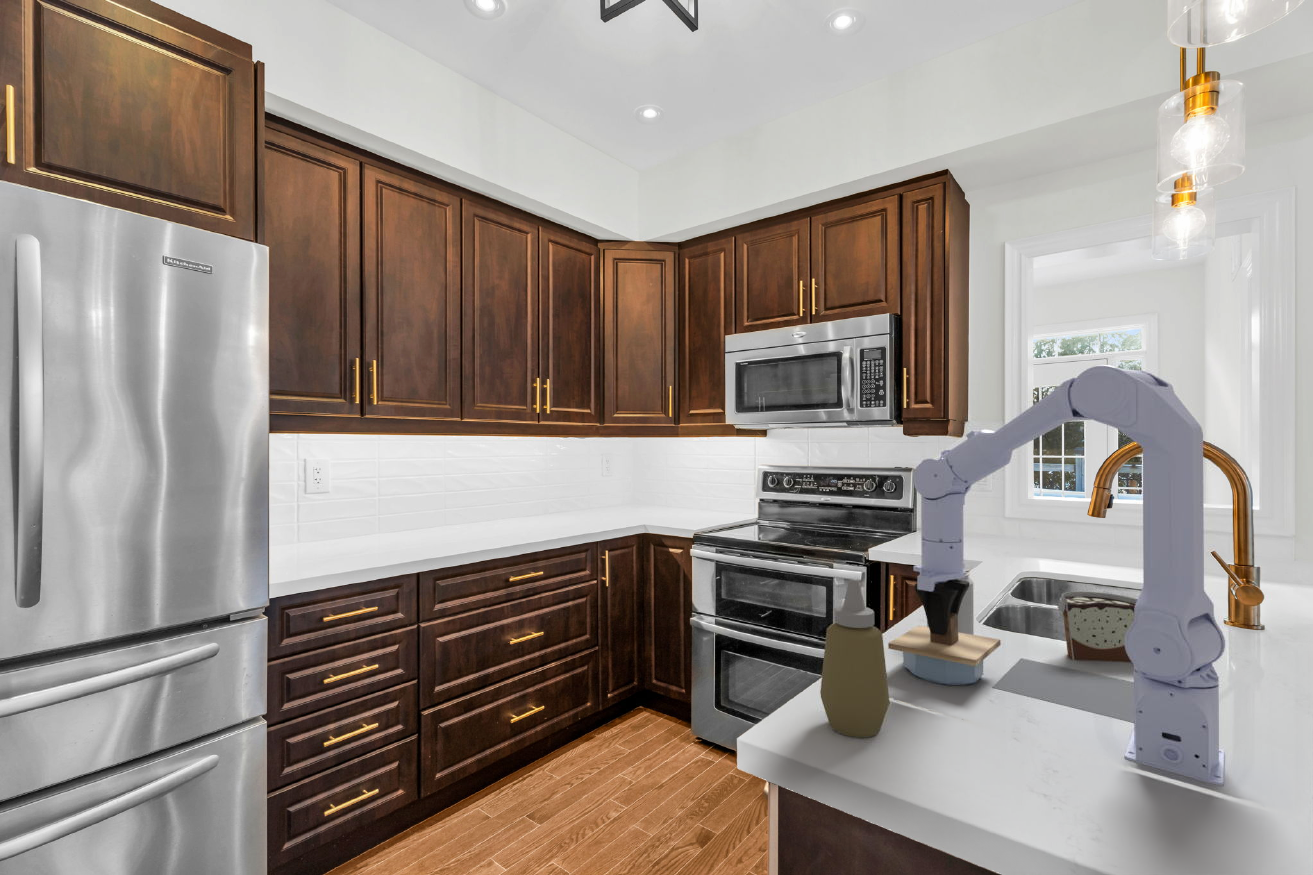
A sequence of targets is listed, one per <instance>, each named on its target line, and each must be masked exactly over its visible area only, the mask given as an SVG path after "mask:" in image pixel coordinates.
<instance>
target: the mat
mask: <svg viewBox="0 0 1313 875" xmlns="http://www.w3.org/2000/svg"><path fill="white" fill-rule="evenodd" d="M991 688H992V689H995V690H1001V691H1004V692H1009V693H1012V694H1017V695H1019V696H1025V697H1029V698H1031V699H1036V700H1039V701H1040V700H1041V701H1044V702H1048V703H1053V704H1057V705H1060V706H1065V707H1069V708H1074V709H1077V710H1081V711H1085V712H1089V713H1092V714H1097V715H1101V716H1105V717H1108V718H1109V717H1110V718H1113V719H1117V720H1120V721H1125V722H1128V723H1133V724H1134V681H1131V680H1125V679H1120V678H1117V677H1116V678H1115V677H1112V676H1111V677H1110V676H1106V675H1102V674H1097V673H1093V672H1087V671H1083V670H1079V669H1074V668H1068V667H1064V666H1059V665H1056V664H1051V663H1046V662H1040V661H1035V660H1031V659H1027V658H1020V659H1018V661H1017V662H1015V664H1014V665H1012V667H1010V669H1008V671H1007V672H1006V673H1005V674H1004V675H1003V676H1002V677H1001V678H1000V679H999V680H998V681H997V682H995V684H994V685H993V686H992V687H991Z"/></svg>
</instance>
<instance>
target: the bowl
mask: <svg viewBox="0 0 1313 875" xmlns="http://www.w3.org/2000/svg"><path fill="white" fill-rule="evenodd" d="M902 652H903V651H902ZM902 656H903V658H902V661H903V662H902V663H903V664H902V665H903V667H904V668H906V669H908V670H909V672H910V673H912V675H914V676H916V677H917V678H920V679H922V680H925V681H928V682H932V683H935V684H942V685H949V686H964V685H965V686H966V685H970V684H971V685H972V684H974V683H977V681H978V680H979V679H980V678H981V677H982V676H983V675H984V660H983V661H981V662H980V663H979V664H978V665H977V666H972V665H967V664H962V663H957V662H952V661H947V660H943V659H938V658H933V657H928V656H923V655H918V654H913V653H908V652H903V653H902Z"/></svg>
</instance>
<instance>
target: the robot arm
mask: <svg viewBox="0 0 1313 875" xmlns="http://www.w3.org/2000/svg"><path fill="white" fill-rule="evenodd" d="M1091 420H1092V421H1096V422H1098V423H1100V424H1104V425H1107V426H1110V427H1112V428H1115V429H1117V430H1118V432H1121V434H1124V435H1125V436H1126V437H1128V438H1130V439H1131V440H1132V441H1133V442H1135V443H1136V444H1138V445H1139V446H1140V448H1142V513H1143V514H1142V519H1143V520H1142V541H1143V542H1142V545H1143V547H1142V548H1143V550H1142V553H1143V554H1142V555H1143V560H1142V561H1143V562H1142V563H1143V566H1142V568H1143V570H1142V571H1143V574H1142V575H1143V577H1142V578H1143V584H1142V585H1143V586H1142V589H1141V591H1140V594H1139V596H1138V598H1137V599H1138V600H1137V602H1136V604H1135V607H1134V621H1133V623H1132V625H1131V626H1130V628H1129V629H1128V631H1127V632H1126V635H1125V639H1124V645H1125V650H1126V652H1127V655H1128V656H1129V658H1130V660H1131V661H1132V662H1131V663H1132V664H1133V682H1134V723H1133V727H1134V728H1133V730H1132V731H1131V732H1132V733H1131V735H1130V737H1129V741H1128V744H1127V747H1126V749H1125V753H1124V756H1123V758H1124V759H1125V760H1128V761H1131V762H1134V763H1139V764H1142V765H1146V766H1149V767H1152V768H1154V769H1155V768H1156V769H1159V770H1163V771H1166V772H1170V773H1174V774H1177V775H1181V776H1185V777H1188V778H1191V779H1195V780H1199V781H1200V782H1201V781H1202V782H1205V783H1209V784H1213V785H1216V786H1221V787H1222V786H1224V783H1225V782H1224V780H1225V778H1224V777H1225V756H1226V755H1225V750H1224V749H1221V748H1220V704H1219V703H1220V695H1219V694H1220V692H1219V690H1220V689H1219V688H1220V686H1219V685H1220V684H1219V683H1220V680H1219V679H1220V677H1219V676H1218V674H1217V671H1216V670H1215V667H1214V666H1213V663H1215V662H1217V661H1218V660H1220V659H1221V658H1222V656H1223V655H1224V652H1225V648H1226V639H1225V636H1224V634H1223V631H1222V629H1221V628H1220V626H1219V624H1218V623H1217V621H1216V619H1215V618H1216V617H1215V612H1214V611H1215V610H1214V608H1215V607H1214V603H1213V601H1212V599H1211V598H1210V597H1209V596H1208V594H1207V592H1206V591H1205V562H1204V561H1205V559H1204V558H1205V557H1204V556H1205V555H1204V553H1205V546H1204V543H1205V542H1204V541H1205V538H1204V537H1205V536H1204V535H1205V534H1204V532H1205V531H1204V529H1205V528H1204V527H1205V526H1204V521H1205V520H1204V517H1205V516H1204V433H1203V429H1202V427H1201V425H1200V423H1199V422H1198V421H1197V420H1196V418H1195V417H1194V415H1193V414H1192V413H1191V412H1190V410H1188V408H1187V407H1186V405H1184V403H1183V401H1181V399H1180V398H1179V397H1178V396H1177V394H1176V393H1175V390H1174V387H1173V385H1172V384H1171V383H1169V382H1167V381H1166V380H1164V379H1162V378H1160V377H1158V376H1156V375H1155V374H1152V373H1150V372H1148V371H1145V370H1142V369H1141V370H1140V369H1127V368H1119V367H1115V366H1113V365H1108V364H1106V365H1102V364H1101V365H1096V366H1095V365H1094V366H1092V367H1089V368H1087V369H1086V370H1083V371H1082V372H1081V373H1080V374H1078V376H1077V377H1072V378H1070V379H1067V380H1065V381H1063V382H1061V383H1060V385H1058V387H1056V388H1054V390H1053V391H1052V392H1049V394H1048V395H1046V396H1044V397H1043V398H1042V399H1040V400H1039V401H1037V402H1035V404H1033V405H1032V406H1030V407H1029V408H1027V409H1026V410H1025V411H1023V412H1021V413H1020V414H1019V415H1017V416H1016V417H1014V418H1013V419H1011V420H1010V421H1009V422H1007V423H1006V424H1005V425H1004V426H1002V427H1000V428H998V429H997V430H996V431H995V430H990V429H981V430H971V431H970V432H968V433H967V434H966V435H965V436H966V438H967V439H965V440H963V441H962V442H960V443H959V444H958V445H956V446H954V447H953V448H952V449H944V450H943V451H941V452H940V455H941V456H940V457H939V458H938V459H937V458H926V459H923V460H921V462H920V463H919V464H918V465H917V466H916V467H915V469H914V471H913V475H912V482H913V486H914V488H915V490H916V492H917V493H918V494H919V495H920V499H921V502H920V503H921V505H920V506H921V507H920V508H921V509H920V510H921V512H920V513H921V514H920V515H921V516H920V518H921V519H920V520H921V522H920V523H921V526H920V528H921V530H920V531H921V532H920V534H921V535H920V536H921V539H920V540H921V547H920V548H921V564H916V565H914V566H913V571H914V572H919V575H917V576H916V578H917V583H915V584H914V590H915V592H916V595H917V596H918V598H919V599H920V601H921V605H922V607H923V609H924V612H925V618H926V623H927V622H928V626H929V629H930V633H934V634H939V635H946V633H947V630H948V625H949V617H950V613H955V614H958V613H959V608H960V605H961V602H962V599H963V597H964V595H965V593H966V591H967V589H968V588H969V582H968V581H963V580H957V579H960V578H964V577H965V571H966V568H965V567H966V563H964V544H965V543H964V542H965V541H964V505H965V501H966V500H965V498H966V495H967V494H968V492H969V491H970V490H971V488H972V486H973V485H974V484H975V483H978V482H980V481H981V480H983V479H984V478H986V477H988V476H990V475H991V474H993V473H995V472H997V471H998V470H1001V469H1002V468H1004V467H1006V466H1007V465H1008V464H1010V463H1011V459H1012V454H1013V452H1014V450H1016V449H1019V448H1020V447H1022V446H1024V445H1026V444H1028V443H1030V442H1032V441H1033V440H1036V439H1037V438H1039V437H1042V436H1043V435H1045V434H1047V433H1048V432H1051V431H1053V430H1055V429H1056V428H1058V427H1060V426H1062V425H1063V424H1066V423H1068V422H1071V421H1072V422H1075V421H1076V422H1077V421H1091Z"/></svg>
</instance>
